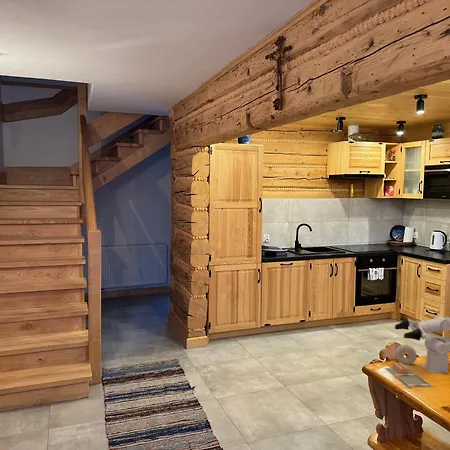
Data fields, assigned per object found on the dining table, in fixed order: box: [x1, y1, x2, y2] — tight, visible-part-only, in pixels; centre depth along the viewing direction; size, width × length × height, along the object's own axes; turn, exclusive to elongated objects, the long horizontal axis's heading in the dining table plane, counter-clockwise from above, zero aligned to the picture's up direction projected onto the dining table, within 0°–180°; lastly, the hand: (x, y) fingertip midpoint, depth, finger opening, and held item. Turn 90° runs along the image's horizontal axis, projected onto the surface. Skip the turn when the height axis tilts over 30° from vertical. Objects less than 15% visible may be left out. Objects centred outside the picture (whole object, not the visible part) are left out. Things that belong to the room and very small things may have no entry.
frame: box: [394, 373, 432, 388], centre depth 199 cm, size 11×11×1 cm
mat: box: [384, 367, 433, 389], centre depth 203 cm, size 12×20×1 cm, turn 9°
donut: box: [395, 344, 418, 366], centre depth 219 cm, size 10×4×10 cm, turn 66°
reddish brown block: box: [391, 361, 410, 374], centre depth 208 cm, size 7×4×3 cm, turn 9°
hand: (399, 331), depth 208 cm, fingers open, 7 cm apart
